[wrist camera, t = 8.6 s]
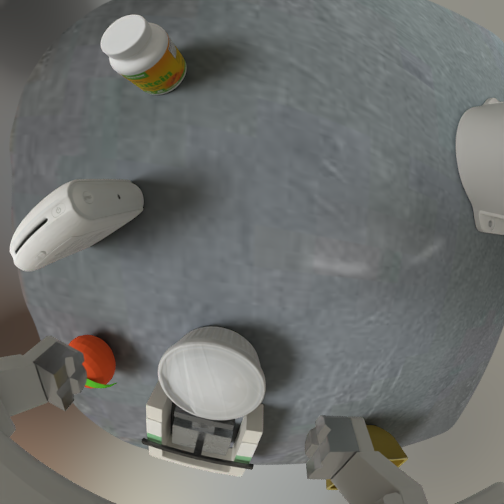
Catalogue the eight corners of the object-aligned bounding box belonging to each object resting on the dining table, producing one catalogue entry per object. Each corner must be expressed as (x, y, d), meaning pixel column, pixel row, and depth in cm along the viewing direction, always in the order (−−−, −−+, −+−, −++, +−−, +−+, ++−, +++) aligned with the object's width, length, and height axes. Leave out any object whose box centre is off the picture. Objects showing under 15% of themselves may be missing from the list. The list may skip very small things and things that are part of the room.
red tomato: (134, 343, 30) (108, 376, 23) (128, 379, 32) (107, 412, 25) (82, 316, 30) (51, 342, 23) (81, 354, 31) (56, 381, 24)
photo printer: (135, 173, 25) (55, 171, 13) (152, 209, 26) (77, 229, 14) (71, 219, 27) (-6, 241, 15) (86, 251, 28) (12, 286, 16)
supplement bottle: (144, 103, 23) (94, 74, 14) (136, 65, 22) (91, 28, 13) (192, 84, 23) (159, 41, 13) (182, 46, 22) (150, -2, 12)
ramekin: (153, 341, 30) (136, 366, 25) (228, 298, 28) (221, 322, 23) (209, 402, 32) (202, 430, 27) (283, 370, 30) (285, 400, 25)
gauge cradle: (263, 404, 31) (262, 433, 26) (243, 453, 34) (241, 477, 29) (158, 379, 31) (145, 405, 26) (158, 433, 34) (149, 456, 29)
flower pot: (392, 417, 32) (410, 458, 23) (361, 449, 34) (372, 488, 25) (348, 412, 32) (362, 460, 23) (317, 445, 34) (324, 490, 25)
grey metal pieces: (268, 404, 31) (268, 437, 25) (250, 445, 33) (248, 475, 28) (154, 377, 31) (138, 406, 25) (154, 423, 33) (142, 450, 28)
